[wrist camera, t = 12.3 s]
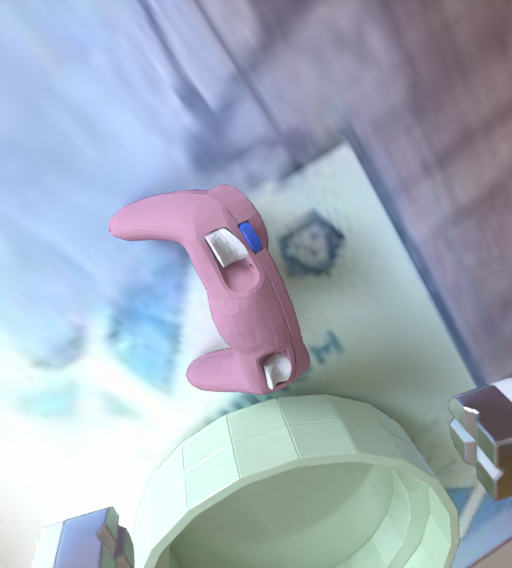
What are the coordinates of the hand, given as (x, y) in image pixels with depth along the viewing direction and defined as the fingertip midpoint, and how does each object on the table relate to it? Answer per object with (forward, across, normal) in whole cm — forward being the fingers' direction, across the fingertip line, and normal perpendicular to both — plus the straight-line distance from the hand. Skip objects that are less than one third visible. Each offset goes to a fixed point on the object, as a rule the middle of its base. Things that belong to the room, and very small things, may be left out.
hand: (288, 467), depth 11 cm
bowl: (+12, +1, +18) cm, 22 cm away
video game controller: (+13, +1, +1) cm, 13 cm away
